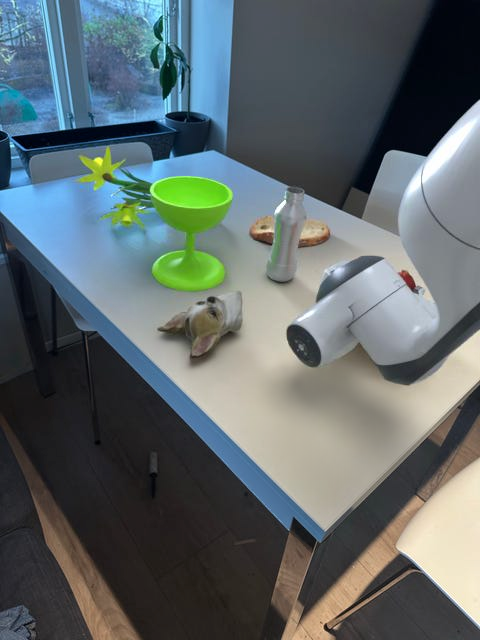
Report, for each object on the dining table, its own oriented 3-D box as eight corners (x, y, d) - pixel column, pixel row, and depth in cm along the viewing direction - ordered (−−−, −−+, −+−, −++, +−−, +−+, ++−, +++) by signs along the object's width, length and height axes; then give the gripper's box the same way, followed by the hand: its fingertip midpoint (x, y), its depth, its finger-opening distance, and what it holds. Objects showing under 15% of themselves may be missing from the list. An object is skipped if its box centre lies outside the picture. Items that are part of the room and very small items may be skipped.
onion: (387, 293, 87) (400, 257, 82) (413, 307, 84) (429, 271, 79) (371, 303, 83) (384, 267, 79) (398, 319, 80) (413, 281, 76)
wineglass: (193, 246, 106) (197, 171, 95) (240, 275, 98) (250, 197, 87) (136, 265, 97) (133, 185, 86) (183, 300, 88) (185, 215, 77)
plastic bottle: (300, 279, 99) (319, 193, 87) (278, 288, 95) (295, 199, 83) (280, 266, 103) (295, 181, 91) (258, 274, 99) (271, 187, 87)
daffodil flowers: (224, 229, 117) (96, 218, 94) (192, 237, 128) (70, 229, 105) (221, 164, 116) (91, 137, 93) (189, 177, 127) (65, 156, 104)
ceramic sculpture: (262, 297, 76) (191, 333, 68) (258, 335, 81) (192, 373, 73) (221, 270, 82) (152, 300, 74) (220, 307, 87) (156, 339, 79)
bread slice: (334, 233, 119) (337, 220, 117) (307, 259, 107) (310, 245, 104) (275, 213, 126) (277, 201, 124) (243, 235, 113) (244, 222, 111)
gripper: (427, 324, 66) (465, 293, 74) (317, 265, 76) (361, 244, 85) (412, 356, 69) (450, 323, 78) (309, 296, 80) (352, 272, 88)
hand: (403, 281), depth 81 cm, fingers closed on onion, 5 cm apart
